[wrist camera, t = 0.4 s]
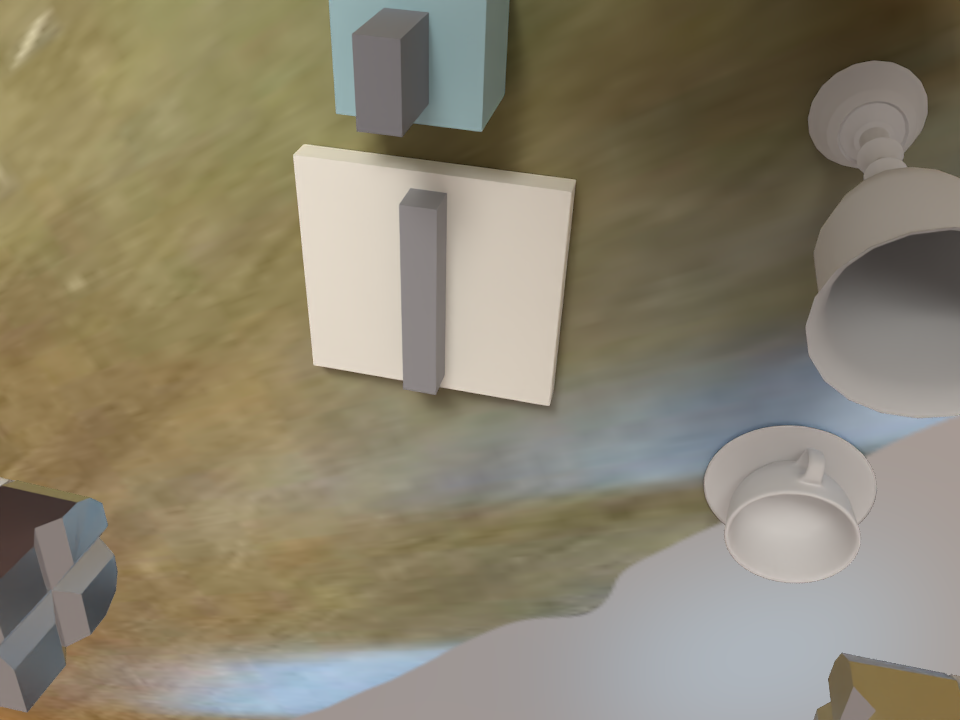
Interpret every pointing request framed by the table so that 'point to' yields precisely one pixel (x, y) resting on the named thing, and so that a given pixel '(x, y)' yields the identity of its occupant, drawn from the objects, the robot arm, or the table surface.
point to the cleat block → (418, 62)
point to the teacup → (791, 501)
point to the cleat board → (479, 267)
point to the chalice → (886, 252)
